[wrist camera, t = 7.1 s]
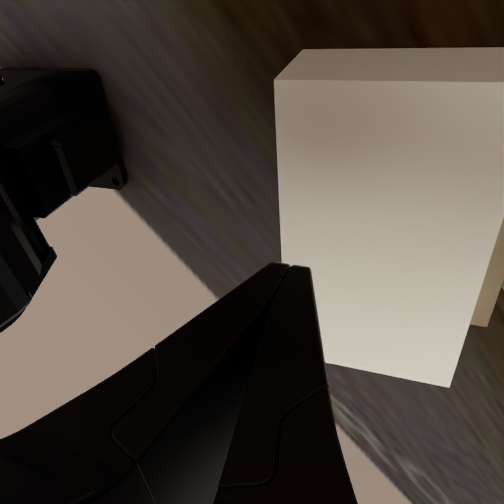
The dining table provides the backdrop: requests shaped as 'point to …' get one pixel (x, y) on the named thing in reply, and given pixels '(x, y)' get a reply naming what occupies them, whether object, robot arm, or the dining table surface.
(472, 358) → the dining table surface
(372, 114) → the cream rectangular box
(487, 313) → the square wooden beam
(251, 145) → the dining table surface
